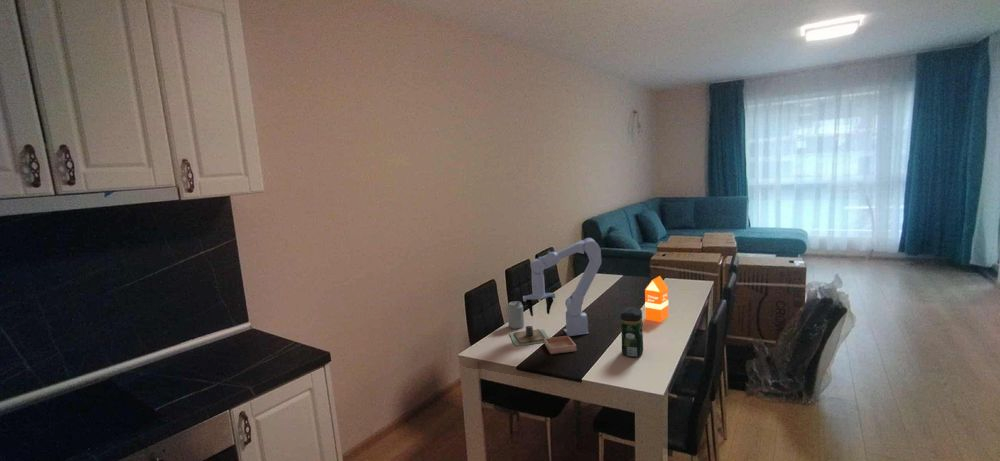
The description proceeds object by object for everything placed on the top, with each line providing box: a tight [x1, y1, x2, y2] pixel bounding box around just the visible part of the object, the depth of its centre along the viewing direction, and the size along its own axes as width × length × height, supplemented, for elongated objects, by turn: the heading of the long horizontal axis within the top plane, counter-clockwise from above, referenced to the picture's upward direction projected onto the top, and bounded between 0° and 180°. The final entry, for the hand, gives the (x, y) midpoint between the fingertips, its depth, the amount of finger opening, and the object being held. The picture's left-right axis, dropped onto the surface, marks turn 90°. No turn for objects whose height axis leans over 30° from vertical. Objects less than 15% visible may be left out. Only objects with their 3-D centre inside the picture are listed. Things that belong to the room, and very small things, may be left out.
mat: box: [509, 329, 550, 347], centre depth 202 cm, size 16×14×1 cm
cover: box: [513, 325, 546, 344], centre depth 202 cm, size 12×12×5 cm
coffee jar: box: [620, 306, 644, 358], centre depth 179 cm, size 10×8×19 cm
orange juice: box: [644, 275, 669, 323], centre depth 215 cm, size 8×9×20 cm
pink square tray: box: [543, 335, 577, 355], centre depth 190 cm, size 11×11×2 cm
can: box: [507, 300, 525, 330], centre depth 217 cm, size 8×8×12 cm
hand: (539, 314), depth 205 cm, fingers open, 7 cm apart
